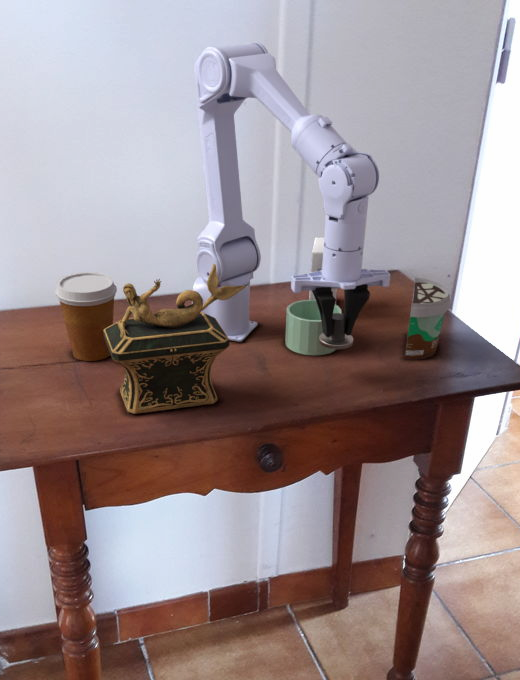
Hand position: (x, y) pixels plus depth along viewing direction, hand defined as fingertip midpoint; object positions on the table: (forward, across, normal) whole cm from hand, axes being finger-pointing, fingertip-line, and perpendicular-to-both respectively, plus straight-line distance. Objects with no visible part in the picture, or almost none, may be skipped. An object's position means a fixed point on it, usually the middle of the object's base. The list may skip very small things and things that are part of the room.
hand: (336, 333), depth 130 cm
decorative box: (+8, -24, -2) cm, 26 cm away
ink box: (+8, +6, +27) cm, 29 cm away
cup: (+7, 0, +12) cm, 14 cm away
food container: (+8, +18, +7) cm, 21 cm away
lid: (+1, 0, 0) cm, 1 cm away
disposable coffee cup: (+8, -36, +16) cm, 40 cm away
